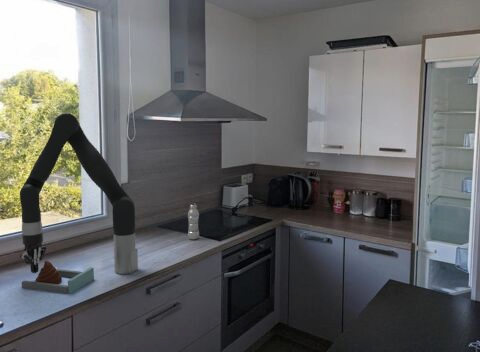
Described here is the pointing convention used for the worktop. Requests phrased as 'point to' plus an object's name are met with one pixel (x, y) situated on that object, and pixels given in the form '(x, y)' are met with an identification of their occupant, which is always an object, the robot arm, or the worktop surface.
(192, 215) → the plastic bottle
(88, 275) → the channel
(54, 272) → the poop emoji
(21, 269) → the worktop surface
